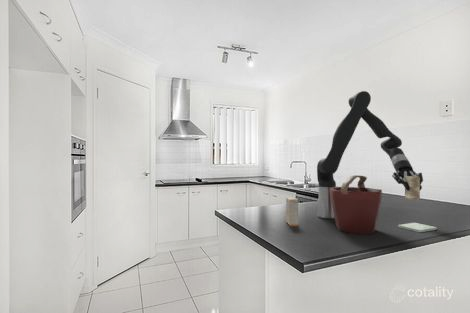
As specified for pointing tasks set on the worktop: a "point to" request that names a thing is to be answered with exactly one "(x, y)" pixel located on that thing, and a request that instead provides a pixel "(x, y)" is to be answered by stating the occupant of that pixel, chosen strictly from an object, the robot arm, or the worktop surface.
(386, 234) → the worktop surface
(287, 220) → the supplement box
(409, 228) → the sage board
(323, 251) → the worktop surface
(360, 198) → the bucket
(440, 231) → the worktop surface
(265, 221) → the worktop surface
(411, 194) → the maple block
